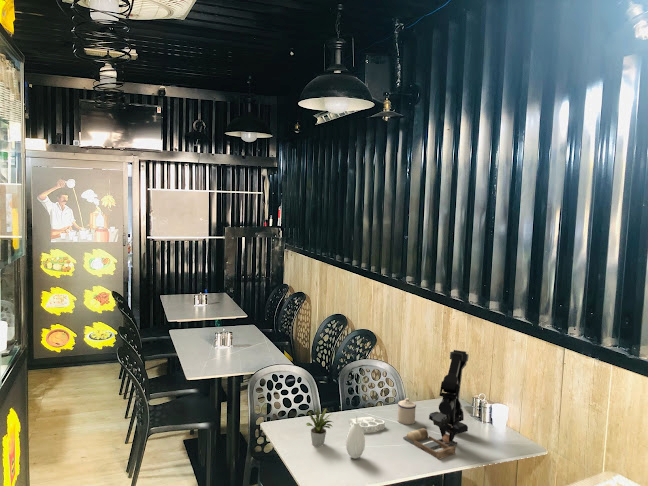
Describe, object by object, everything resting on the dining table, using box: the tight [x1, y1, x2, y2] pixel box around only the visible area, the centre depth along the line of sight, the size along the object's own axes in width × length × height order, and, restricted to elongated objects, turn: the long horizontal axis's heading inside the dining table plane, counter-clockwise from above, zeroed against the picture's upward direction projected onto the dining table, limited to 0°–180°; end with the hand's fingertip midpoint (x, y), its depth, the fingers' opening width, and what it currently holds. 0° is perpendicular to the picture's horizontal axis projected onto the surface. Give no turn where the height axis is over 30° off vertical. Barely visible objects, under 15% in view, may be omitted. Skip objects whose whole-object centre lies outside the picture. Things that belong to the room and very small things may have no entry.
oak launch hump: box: [406, 427, 429, 442], centre depth 238 cm, size 9×5×5 cm, turn 125°
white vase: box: [345, 416, 366, 460], centre depth 218 cm, size 8×8×18 cm
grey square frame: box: [437, 437, 458, 447], centre depth 236 cm, size 7×7×1 cm
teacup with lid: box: [397, 397, 417, 425], centre depth 260 cm, size 12×9×12 cm
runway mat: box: [402, 435, 441, 451], centre depth 235 cm, size 10×14×1 cm
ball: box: [442, 433, 451, 444], centre depth 236 cm, size 4×4×4 cm
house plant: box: [302, 407, 333, 448], centre depth 228 cm, size 14×14×16 cm
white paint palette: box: [348, 415, 386, 434], centre depth 250 cm, size 3×18×15 cm
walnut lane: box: [414, 435, 457, 460], centre depth 229 cm, size 11×15×3 cm
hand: (446, 440), depth 236 cm, fingers closed on ball, 4 cm apart
